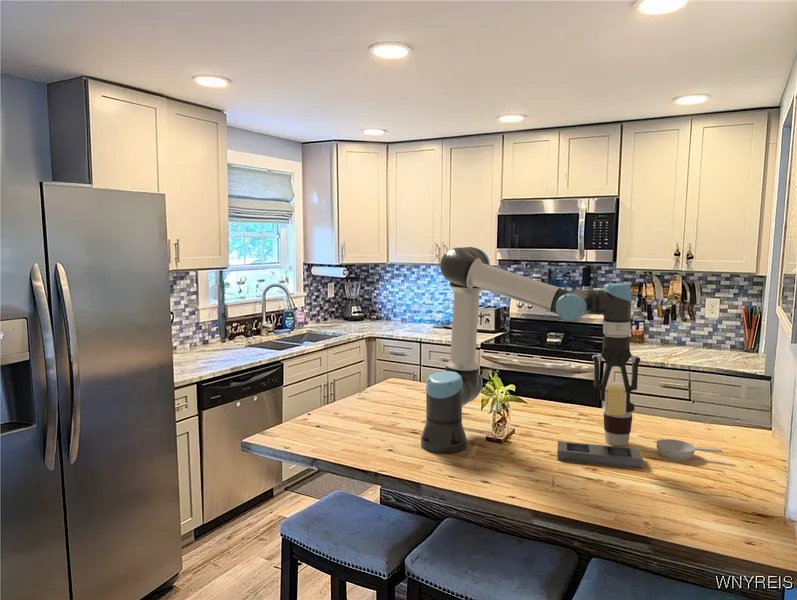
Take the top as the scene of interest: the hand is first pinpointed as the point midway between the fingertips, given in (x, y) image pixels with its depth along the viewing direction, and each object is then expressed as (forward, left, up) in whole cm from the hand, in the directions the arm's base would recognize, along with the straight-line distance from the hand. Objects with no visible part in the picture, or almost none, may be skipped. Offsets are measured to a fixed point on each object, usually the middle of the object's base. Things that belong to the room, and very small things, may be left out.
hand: (614, 411), depth 166 cm
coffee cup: (+3, +17, -16) cm, 23 cm away
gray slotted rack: (-4, +1, -16) cm, 16 cm away
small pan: (+23, +10, -16) cm, 30 cm away
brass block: (0, 0, 0) cm, 0 cm away
